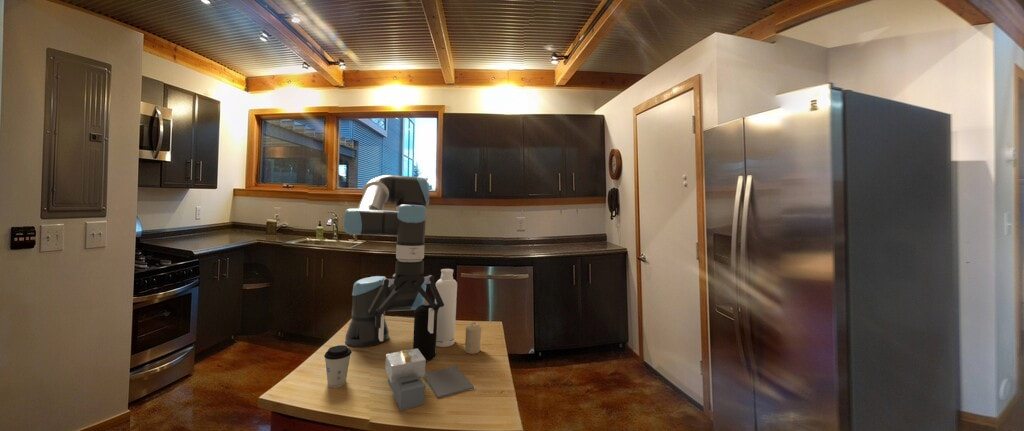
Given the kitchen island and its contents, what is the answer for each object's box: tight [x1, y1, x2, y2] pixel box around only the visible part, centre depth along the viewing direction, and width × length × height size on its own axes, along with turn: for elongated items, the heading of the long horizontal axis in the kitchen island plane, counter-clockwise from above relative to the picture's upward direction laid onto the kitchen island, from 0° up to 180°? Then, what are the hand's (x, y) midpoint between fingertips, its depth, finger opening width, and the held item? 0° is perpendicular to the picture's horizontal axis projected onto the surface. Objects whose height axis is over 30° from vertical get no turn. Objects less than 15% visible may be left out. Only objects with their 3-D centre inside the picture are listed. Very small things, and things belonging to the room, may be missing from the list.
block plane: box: [387, 376, 426, 412], centre depth 90 cm, size 16×6×6 cm, turn 32°
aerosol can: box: [412, 299, 438, 362], centre depth 112 cm, size 8×8×20 cm
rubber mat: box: [423, 365, 475, 399], centre depth 97 cm, size 14×11×1 cm
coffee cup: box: [323, 344, 352, 388], centre depth 93 cm, size 7×7×10 cm
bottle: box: [434, 268, 458, 348], centre depth 124 cm, size 8×8×28 cm
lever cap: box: [384, 348, 427, 383], centre depth 91 cm, size 8×9×6 cm
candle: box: [464, 321, 482, 355], centre depth 119 cm, size 6×6×10 cm
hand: (406, 335), depth 91 cm, fingers open, 13 cm apart
